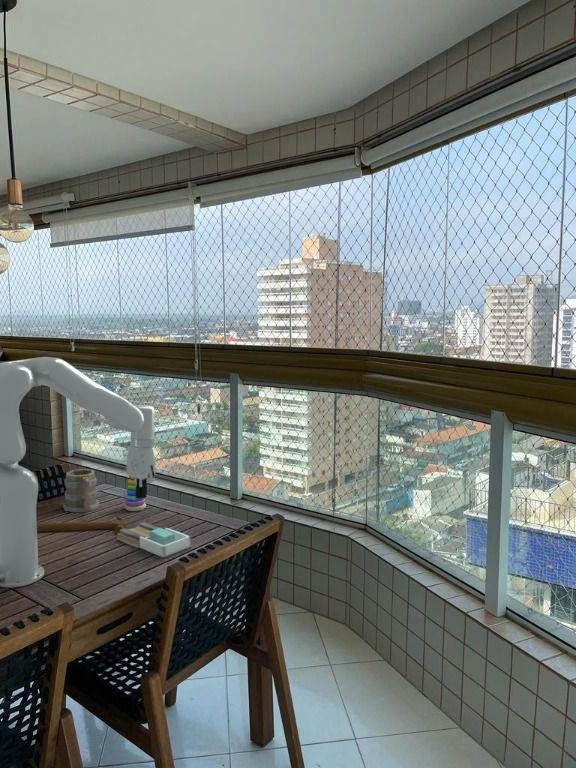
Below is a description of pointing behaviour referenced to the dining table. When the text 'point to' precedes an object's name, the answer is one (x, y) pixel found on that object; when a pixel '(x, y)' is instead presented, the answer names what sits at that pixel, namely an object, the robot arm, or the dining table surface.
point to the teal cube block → (154, 534)
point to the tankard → (80, 491)
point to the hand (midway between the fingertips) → (141, 497)
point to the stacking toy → (133, 498)
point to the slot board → (136, 534)
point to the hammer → (83, 526)
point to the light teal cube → (165, 538)
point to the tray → (168, 549)
